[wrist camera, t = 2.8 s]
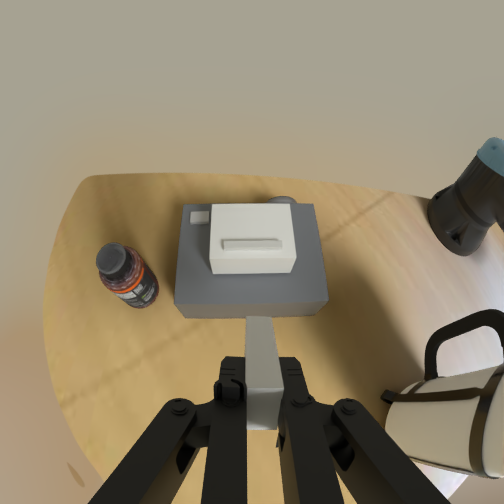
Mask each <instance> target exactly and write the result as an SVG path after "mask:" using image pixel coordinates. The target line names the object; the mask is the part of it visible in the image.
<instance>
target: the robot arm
mask: <svg viewBox="0 0 504 504" xmlns="http://www.w3.org/2000/svg"><path fill="white" fill-rule="evenodd" d="M428 217H429V221H430V224H431V226H432V228H433V230H434V232H435V234H436V235H437V237H438V238H439V240H440V241H441V242H442V243H443V244H444V245H445V246H446V247H447V248H448V249H449V250H450V251H452V252H453V253H455V254H457V255H460V256H468V255H470V254H472V253H473V252H474V251H475V250H477V249H478V247H479V246H480V244H481V242H482V241H483V239H484V237H485V235H486V233H487V231H488V229H489V228H490V227H491V226H492V225H493V224H494V223H495V222H497V223H498V225H499V226H500V228H501V229H502V230H503V232H504V141H503V140H502V139H499V138H495V137H493V138H489V139H488V140H487V141H486V142H485V143H484V145H483V146H482V147H481V148H480V149H479V150H478V151H477V155H476V156H475V157H474V159H473V160H472V162H471V163H470V164H469V165H468V167H467V168H466V169H465V170H464V172H463V173H462V174H461V176H460V177H459V178H458V179H457V181H456V182H455V183H454V184H452V185H450V186H448V187H447V188H445V189H443V190H441V191H439V192H437V193H436V194H435V195H434V196H433V198H432V199H431V200H430V202H429V204H428ZM277 426H278V428H279V433H278V438H277V443H276V447H279V456H280V465H281V474H282V484H283V493H284V502H285V504H344V500H343V496H342V493H341V489H340V485H339V482H338V478H337V474H336V472H337V473H338V475H339V476H340V478H341V480H342V481H343V483H344V484H345V486H346V487H347V489H348V490H349V492H350V493H351V495H352V496H353V498H354V499H355V501H356V502H357V504H451V503H450V502H449V501H448V500H447V499H446V498H445V497H444V496H443V494H442V493H441V492H440V491H439V490H438V489H437V488H436V487H435V486H434V485H433V484H432V482H431V481H430V480H429V479H428V478H427V477H426V476H425V475H424V474H423V473H422V472H421V470H420V469H419V468H418V467H417V466H416V465H415V464H414V463H413V462H412V460H411V459H410V458H409V457H408V456H407V455H406V454H405V453H404V452H403V450H402V449H401V448H400V447H399V446H398V445H397V444H396V443H395V441H394V440H393V439H392V438H391V437H390V436H389V435H388V434H387V432H386V431H385V430H384V429H383V428H382V427H381V426H380V425H379V423H378V422H377V421H376V420H375V419H374V418H373V417H372V415H371V414H370V413H369V412H368V411H367V410H366V409H365V407H364V406H363V405H362V404H361V403H360V402H358V401H356V400H354V399H349V398H346V399H341V400H339V401H337V402H336V403H335V404H334V405H327V404H322V403H319V402H317V401H315V399H314V397H313V396H311V395H310V394H309V392H308V389H307V385H306V382H305V378H304V375H303V371H302V368H301V364H300V362H299V361H298V360H297V359H296V358H295V357H278V351H277V346H276V340H275V334H274V329H273V323H272V318H271V317H266V316H246V334H245V357H230V356H226V357H225V358H224V359H223V360H222V361H221V367H220V375H219V380H218V381H216V382H215V384H214V399H213V400H212V401H210V402H208V403H205V404H199V405H194V404H193V403H192V402H191V401H189V400H187V399H183V398H176V399H172V400H170V401H168V402H167V403H166V404H165V405H164V406H163V407H162V409H161V410H160V411H159V413H158V414H157V415H156V417H155V418H154V419H153V421H152V422H151V423H150V425H149V426H148V427H147V428H146V430H145V431H144V432H143V434H142V435H141V436H140V438H139V439H138V440H137V442H136V443H135V444H134V445H133V447H132V448H131V449H130V451H129V452H128V453H127V455H126V456H125V457H124V458H123V460H122V461H121V462H120V464H119V465H118V466H117V467H116V469H115V470H114V471H113V472H112V474H111V475H110V476H109V478H108V479H107V480H106V481H105V483H104V484H103V485H102V486H101V488H100V489H99V490H98V491H97V493H96V494H95V495H94V496H93V498H92V499H91V500H90V501H89V503H88V504H171V502H172V500H173V499H174V497H175V495H176V493H177V491H178V490H179V488H180V486H181V484H182V482H183V480H184V479H185V477H186V475H187V473H188V471H189V469H190V467H191V465H192V464H193V462H194V460H195V458H196V456H197V454H198V452H199V450H200V448H202V447H208V449H207V457H206V465H205V473H204V481H203V489H202V498H201V504H247V430H277ZM335 470H336V471H335Z"/></svg>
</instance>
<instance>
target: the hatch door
mask: <svg viewBox="0 0 504 504" xmlns="http://www.w3.org/2000/svg"><path fill="white" fill-rule="evenodd" d="M209 259H210V264H211V268H212V272H213V274H253V273H290V272H291V270H292V267H293V265H294V263H295V260H296V249H295V241H294V233H293V225H292V218H291V210H290V204H212V214H211V234H210V258H209Z"/></svg>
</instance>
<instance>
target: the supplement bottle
mask: <svg viewBox="0 0 504 504" xmlns="http://www.w3.org/2000/svg"><path fill="white" fill-rule="evenodd" d="M96 264H97V268H98V269H99V275H100V278H101V281H102V282H103V284H104V285H105V286H106V287H107V288H108V289H109V290H110V291H112V292H113V293H114V294H115V295H117V296H118V297H119V298H121V299H122V300H123V301H124V302H126V303H127V304H128V305H130V306H132V307H134V308H145V307H147V306H149V305H151V304H152V303H153V302H154V301H155V299H156V297H157V295H158V292H159V284H158V281H157V279H156V277H155V275H154V274H153V273H152V271H151V270H150V269H149V267H148V266H147V265H146V263H145V262H144V261H143V259H142V258H141V257H140V255H139V254H138V253H137V252H136V251H135V250H134V249H132V248H131V247H128V246H122V245H121V244H119V243H109V244H106V245H105V246H104V247H102V248H101V250H100V251H99V253H98V255H97V258H96Z"/></svg>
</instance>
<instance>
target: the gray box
mask: <svg viewBox="0 0 504 504" xmlns="http://www.w3.org/2000/svg"><path fill="white" fill-rule="evenodd" d="M219 204H290V210H291V218H292V225H293V233H294V241H295V249H296V260H295V263H294V265H293V267H292V270H291V272H290V273H253V274H213V272H212V268H211V264H210V259H209V258H210V234H211V214H212V204H184V205H183V213H182V221H181V229H180V238H179V248H178V259H177V270H176V283H175V297H174V304H175V306H176V307H177V308H178V310H179V311H180V312H181V313H182V315H183V316H184V317H185V318H246V316H266V317H293V316H310V315H315V314H316V313H317V312H318V311H319V310H320V309H321V308H322V307H323V306H324V305H325V304H326V303H327V302H328V301H329V295H328V288H327V281H326V274H325V268H324V261H323V255H322V249H321V243H320V237H319V231H318V226H317V221H316V215H315V210H314V205H313V204H299V203H297V202H296V201H295V200H294V199H293V198H291V197H287V196H278V197H274V198H272V199H270V200H268V201H267V202H266V203H219Z"/></svg>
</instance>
